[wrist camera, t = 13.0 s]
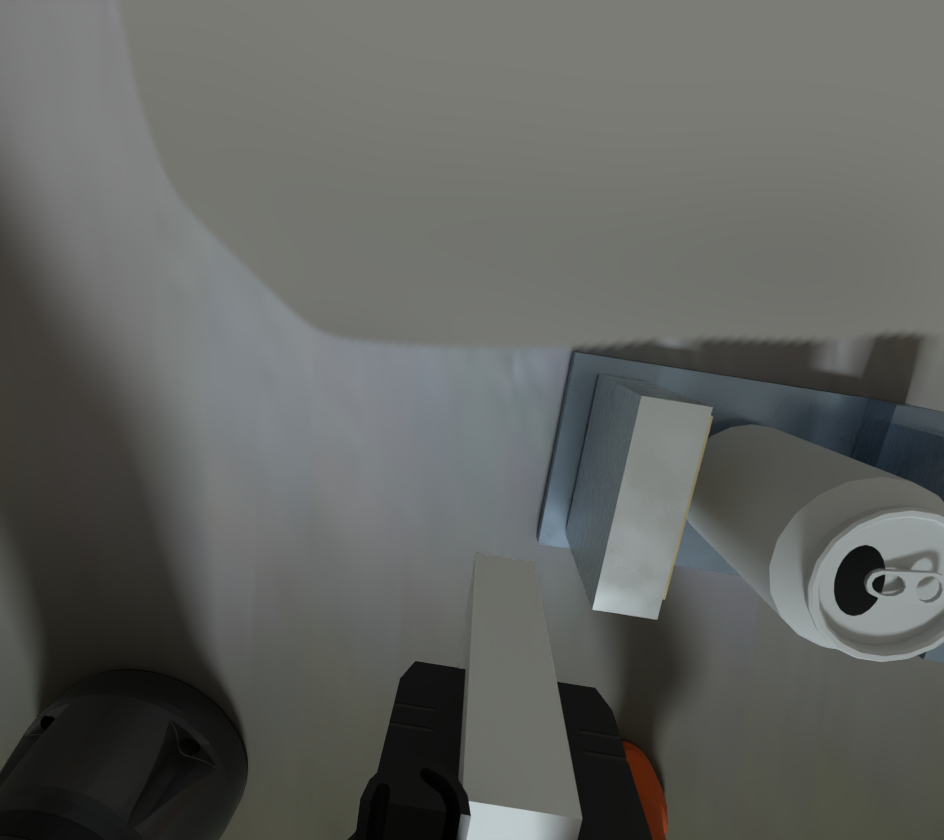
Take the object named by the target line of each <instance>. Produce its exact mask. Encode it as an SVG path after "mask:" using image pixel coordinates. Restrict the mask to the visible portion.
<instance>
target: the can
mask: <svg viewBox="0 0 944 840" xmlns="http://www.w3.org/2000/svg"><path fill="white" fill-rule="evenodd" d="M687 521H688V522H689V523H690V524H691V525H692V527H693V528H694V529H695V530H696V531H697V532H698V533H699V534H700V535H701V536H702V537H703V538H704V539H705V540H706V541H707V542H708V543H709V544H710V545H711V546H712V547H713V548H714V549H715V550H716V551H717V552H718V553H719V554H720V555H721V556H722V557H723V558H724V559H725V560H726V561H727V562H728V563H729V564H730V565H731V566H732V567H733V568H734V569H735V570H736V571H737V572H738V573H739V574H740V576H741V577H742V578H743V579H744V580H745V581H746V582H747V583H748V584H749V585H750V586H751V587H752V588H753V589H754V590H755V591H756V592H757V593H758V594H759V595H760V596H761V597H762V598H763V599H764V600H765V601H766V602H767V603H768V604H769V605H770V606H771V607H772V608H773V609H774V610H775V611H776V612H777V613H778V614H779V615H780V616H781V617H782V618H783V619H784V620H785V621H786V622H787V623H788V624H789V625H790V627H791V628H792V629H793V630H794V631H795V632H796V633H797V634H798V635H800V636H802V637H804V638H806V639H808V640H810V641H812V642H814V643H816V644H818V645H820V646H822V647H827V648H833V649H839V650H841V651H843V652H845V653H847V654H849V655H851V656H853V657H855V658H860V659H866V660H873V661H879V662H884V661H892V660H901V659H908V658H911V657H914V656H916V655H919V654H922V653H924V652H927V651H929V650H932V649H935V648H936V647H937V646H939V645H940V644H942V643H943V642H944V502H943V501H942V500H941V498H940V497H939V496H938V495H936V494H934V493H932V492H931V491H929V490H927V489H925V488H923V487H921V486H919V485H917V484H915V483H914V482H912V481H909V480H906V479H904V478H901V477H899V476H896V475H893V474H891V473H888V472H886V471H883V470H881V469H878V468H875V467H873V466H870V465H868V464H865V463H862V462H860V461H857V460H855V459H852V458H850V457H847V456H844V455H842V454H839V453H837V452H834V451H832V450H829V449H826V448H824V447H821V446H819V445H816V444H813V443H811V442H808V441H806V440H803V439H801V438H798V437H795V436H793V435H790V434H788V433H785V432H783V431H780V430H777V429H775V428H772V427H766V426H760V425H753V424H750V425H743V426H736V427H730V428H728V429H726V430H724V431H721V432H719V433H717V434H715V435H713V436H711V437H710V438H708V439H707V442H706V446H705V450H704V454H703V457H702V461H701V465H700V469H699V473H698V476H697V480H696V484H695V488H694V492H693V495H692V499H691V503H690V507H689V511H688V514H687Z"/></svg>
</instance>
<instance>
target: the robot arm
mask: <svg viewBox="0 0 944 840" xmlns="http://www.w3.org/2000/svg"><path fill="white" fill-rule="evenodd" d="M626 758H627V756H626V753H625V750H624V746H623V743H622V740H620V734H619V730H618V727H617V724H616V721H615V718H614V714H613V711H612V710H611V708H610V707H609V706H608V704H607V703H606V702H605V700H604V699H603V698H602V696H601V695H600V694H599V692H598V691H597V690H596V688H592V687H586V686H580V685H573V684H567V683H561V682H557V680H556V674H555V669H554V664H553V658H552V653H551V647H550V642H549V637H548V631H547V626H546V621H545V615H544V610H543V604H542V599H541V594H540V588H539V583H538V578H537V572H536V567H535V562H531V561H525V560H518V559H512V558H506V557H500V556H493V555H487V554H481V553H476V555H475V560H474V566H473V572H472V578H471V584H470V590H469V596H468V602H467V607H466V613H465V619H464V625H463V631H462V637H461V643H460V651H459V662H458V668H455V667H449V666H442V665H436V664H430V663H424V662H417V661H415V662H414V663H413V664H412V666H411V667H410V668H409V669H408V670H407V671H406V673H405V674H404V675H403V676H402V677H401V678H400V681H399V685H398V690H397V694H396V698H395V702H394V706H393V710H392V714H391V718H390V723H389V726H388V730H387V734H386V739H385V743H384V747H383V751H382V755H381V759H380V763H379V767H378V771H377V773H376V774H375V775H374V776H373V777H372V778H371V779H370V780H369V782H368V784H367V786H366V788H365V790H364V792H363V795H362V797H361V799H360V806H359V814H358V822H357V829H356V832H355V833H354V834H353V835H352V836H351V837H350V838H349V839H348V840H653V839H652V836H651V833H650V829H649V826H648V823H647V820H646V817H645V813H644V810H643V807H642V804H641V801H640V798H639V794H638V791H637V788H636V785H635V782H634V778H633V775H632V772H631V769H630V766H629V762H627V760H626ZM246 779H247V764H246V757H245V753H244V749H243V746H242V743H241V741H240V739H239V736H238V734H237V733H236V731H235V729H234V727H233V726H232V724H231V723H230V721H229V720H228V719H227V717H226V716H225V715H224V714H223V713H222V712H221V710H220V709H219V708H218V707H217V706H216V705H214V704H213V703H212V702H211V701H210V700H209V699H208V698H206V697H205V696H204V695H202V694H201V693H199V692H198V691H196V690H195V689H193V688H191V687H189V686H188V685H186V684H184V683H182V682H179V681H177V680H175V679H172V678H169V677H166V676H163V675H160V674H156V673H151V672H145V671H136V670H119V671H110V672H105V673H100V674H97V675H94V676H91V677H88V678H86V679H84V680H82V681H80V682H78V683H77V684H75V685H73V686H72V687H71V688H69V689H68V690H67V691H66V692H64V693H63V694H62V695H61V696H60V697H59V698H58V699H57V700H55V701H54V702H53V703H52V704H51V705H50V706H49V707H48V708H46V709H45V710H44V711H43V712H42V713H41V714H40V715H39V716H38V717H37V718H36V719H35V720H34V722H33V723H32V724H31V725H30V727H29V728H28V729H27V731H26V732H25V734H24V735H23V737H22V738H21V740H20V741H19V743H18V745H17V746H16V748H15V749H14V751H13V752H12V754H11V755H10V757H9V759H8V760H7V762H6V763H5V765H4V766H3V768H2V770H1V771H0V840H219V839H220V837H221V836H222V834H223V833H224V831H225V829H226V828H227V826H228V824H229V822H230V820H231V818H232V816H233V814H234V812H235V810H236V808H237V806H238V804H239V802H240V800H241V798H242V796H243V793H244V790H245V785H246Z"/></svg>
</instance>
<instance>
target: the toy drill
mask: <svg viewBox="0 0 944 840" xmlns="http://www.w3.org/2000/svg"><path fill="white" fill-rule="evenodd" d="M622 743H623V746H624V750H625V753H626V756H627V758H626V760H627V762H629V766H630V769H631V772H632V775H633V778H634V782H635V785H636V788H637V791H638V794H639V798H640V801H641V804H642V807H643V810H644V813H645V817H646V820H647V823H648V826H649V829H650V833H651V836H652V839H653V840H666V837H665V835H666V832H667V829H668V818H667V805H666V801H665V796H664V793H663V791H662V788H661V785H660V783H659V781H658V779H657V777H656V774H655V772H654V770H653V768H652V766H651V764H650V762H649V760H648V759H647V757H646V756H645V754H644V753H643V752H642V751H641V750H640V749H639V748H638V747H637V746H635V745H634V744H632V743H630V742H627V741H622Z"/></svg>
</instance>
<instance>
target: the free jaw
mask: <svg viewBox="0 0 944 840" xmlns="http://www.w3.org/2000/svg"><path fill="white" fill-rule="evenodd" d="M712 409H713V407H711V406H709V405H706V404H704V403H701V402H699V401H696V400H694V399H691V398H689V397H686V396H684V395H681V394H679V393H676V392H674V391H671V390H669V389H666V388H664V387H661V386H659V385H656V384H654V383H651V382H646V381H640V380H634V379H627V378H621V377H615V376H608V375H602V374H599V376H598V381H597V386H596V390H595V395H594V400H593V405H592V410H591V414H590V419H589V424H588V429H587V433H586V438H585V443H584V448H583V452H582V457H581V462H580V467H579V472H578V476H577V481H576V486H575V491H574V495H573V500H572V505H571V510H570V514H569V519H568V524H567V529H566V537H567V540H568V543H569V546H570V548H571V551H572V554H573V557H574V560H575V562H576V565H577V568H578V571H579V574H580V576H581V579H582V582H583V585H584V588H585V590H586V593H587V596H588V599H589V601H590V604H591V607H592V610H598V611H605V612H611V613H617V614H624V615H630V616H636V617H643V618H649V619H655V620H657V619H658V615H659V611H660V607H661V603H662V600H665V598H666V594H667V590H668V587H669V583H670V579H671V575H672V571H673V568H674V564H675V560H676V556H677V552H678V549H679V545H680V541H681V537H682V533H683V530H684V526H685V522H686V518H687V514H688V511H689V507H690V503H691V499H692V495H693V492H694V488H695V484H696V480H697V476H698V473H699V469H700V465H701V461H702V457H703V454H704V450H705V446H706V442H707V438H708V435H709V431H710V427H711V423H712V419H713V416H712V415H711V412H712Z"/></svg>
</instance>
